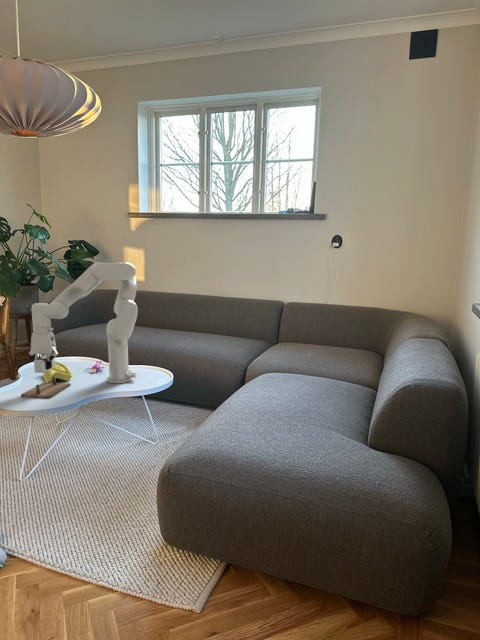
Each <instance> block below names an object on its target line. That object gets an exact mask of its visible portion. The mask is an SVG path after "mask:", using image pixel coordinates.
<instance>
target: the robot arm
mask: <svg viewBox="0 0 480 640" xmlns="http://www.w3.org/2000/svg"><path fill="white" fill-rule="evenodd" d="M136 273H137V270H136V267H135V266H134V265H133V264H132V263H130V262H125V261H119V262H99V261H97V262H94V263H92V264H91V265H90V266H89V267H88V268H87V269H86V270H84V272H83V273H82V274H81V275H80V276H79V277H78V278H76V279H75V280H74V282H72V283H71V284H70V285H69V286H68V287H67V288H65V289H64V290H62V292H61V293H59V294H58V295H57V296H56V297H55V298H54V299H52V301H51V302H50V303H47V302H37V303H33V304H31V319H32V322H31V323H32V333H31V337H30V338H31V339H30V350H29V352H28V354H29V356H31V357H32V358H33V360H35V359H37V358H39V357H42V355H43V356H44V355H46V357H47V361H46V364H47V370H49V369H51V368H52V360H53V358H54V359H55V357H57V356H58V355H59V352H58V350H57V345H56V339H55V334H54V332H52V331H54V328H53V327H52V323H51V322H52V321H51V319H53V320H54V319H55V320H62V319H64V318H66V317H68V315H69V312H70V311H69V308H70V307H71V306H72V305H73V304H74V303H75V302H77V301H78V300H79V299H83V298H84V297H86V296H88V295H89V294H90V293H91V292H92V291H93V290H95V288H96V287H98V285H100V284H101V283H102V282H116V281H117V282H118V283H119V287H118V292H117V296H116V298H115V302H114V305H113V312H114V313H115V315H116V318H112V319H111V320H109V321H108V322H107V325H106V329H105V331H106V338H107V349H108V351H107V354H108V368H109V369H108V371H109V376H107V378H106V382H107V383H109V384H124V383H128V382H131V381H132V380H133V378H137V373H136V372H131V370H130V369H129V348H128V347H129V346H128V345H129V344H128V340H129V339H130V337H131V336H132V333H133V332H134V327H135V324H136V321H137V319H138V315H139V314H138V312H139V310H138V305H137V303H136V302H135V298H136V294H137V289H138V283H137V282H138V281H137V278H136Z"/></svg>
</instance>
